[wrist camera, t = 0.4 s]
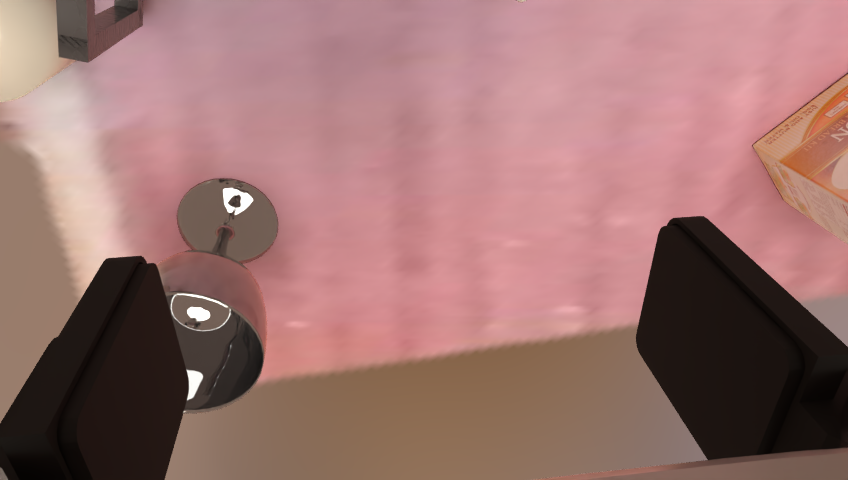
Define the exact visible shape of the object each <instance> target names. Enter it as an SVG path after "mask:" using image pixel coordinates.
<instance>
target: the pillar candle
mask: <svg viewBox="0 0 848 480" xmlns="http://www.w3.org/2000/svg"><path fill="white" fill-rule="evenodd" d="M75 61H76V60H72V59H66V58H61V57H59V53H58V33H57V13H56V0H0V102H6V101H11V100H15V99H18V98H20V97H23V96H24V95H26V94H28V93H29V92H31V91H32V90H34V89H35V88H37V87H38V86H40V85H41V84H43V83H44V82H46V81H47V80H48V79H50V78H51V77H53V76H54V75H56V74H57V73H59V72H60V71H62V70H63V69H65V68H66V67H68V66H69V65H71V64H72V63H74V62H75Z"/></svg>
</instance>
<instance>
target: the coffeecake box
mask: <svg viewBox="0 0 848 480" xmlns="http://www.w3.org/2000/svg"><path fill="white" fill-rule="evenodd" d="M753 147H754V149H755V151H756V152H757V154H758V156H759V157H760V159H761V161H762V162H763V164H764V165H765V167H766V169H767V171H768V173H769V175H770V176H771V178H772V180H773V182H774V184H775V185H776V187H777V189H778V191H779V192H780V194H781V196H782V198H783V199H784V201H785V202H787V203H788V204H789V205H791V206H792V207H793V208H795V209H796V210H798V211H799V212H801V213H802V214H804V215H805V216H807V217H808V218H810V219H811V220H813V221H814V222H815V223H817V224H818V225H820V226H821V227H823V228H824V229H826V230H827V231H829V232H830V233H832V234H833V235H835V236H836V237H838V238H839V239H840V240H842V241H843V242H845V243H846V244H848V74H847V75H846V76H844V77H843V78H842V79H840V80H839V81H838V82H836V83H835V84H834V85H832V86H831V87H830V88H828V89H827V90H826V91H824V92H823V93H822V94H820V95H819V96H818V97H816V98H815V99H814V100H812V101H811V102H810V103H808V104H807V105H806V106H804V107H803V108H802V109H800V110H799V111H798V112H796V113H795V114H794V115H792V116H791V117H790V118H788V119H787V120H786V121H784V122H783V123H782V124H780V125H779V126H778V127H776V128H775V129H774V130H772V131H771V132H770V133H768V134H767V135H765V136H764V137H763V138H761V139H760V140H759V141H757V142H756V143H755V144H753Z"/></svg>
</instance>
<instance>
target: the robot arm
mask: <svg viewBox="0 0 848 480" xmlns="http://www.w3.org/2000/svg"><path fill="white" fill-rule="evenodd" d="M636 343H637V348H638V351H639V353H640V355H641V356H642V358H643V360H644V361H645V363H646V364H647V366H648V367H649V369H650V370H651V372H652V374H653V375H654V377H655V378H656V380H657V381H658V383H659V384H660V386H661V388H662V389H663V391H664V392H665V394H666V395H667V397H668V398H669V400H670V402H671V403H672V405H673V406H674V408H675V409H676V411H677V413H678V414H679V416H680V417H681V419H682V420H683V422H684V423H685V425H686V426H687V428H688V429H689V431H690V433H691V434H692V435H693V437H694V439H695V441H696V442H697V444H698V445H699V447H700V448H701V450H702V451H703V453H704V455H705V456H706V458H707V459H708V460H705V461H696V462H686V463H678V464H669V465H659V466H651V467H641V468H632V469H622V470H614V471H605V472H595V473H586V474H578V475H568V476H559V477H551V478H542V479H533V480H848V347H847V346H846V345H845V344H844V343H843V342H842V341H841V340H840V339H838V338H837V337H836V336H835V335H834V334H833V333H832V332H831V331H830V330H829V329H827V328H826V327H825V326H824V325H823V324H822V323H821V322H820V321H818V319H817V318H815V317H814V316H813V315H812V314H811V313H810V312H809V311H808V310H807V309H806V308H804V307H803V306H802V305H801V304H800V303H799V302H798V301H797V300H796V299H795V298H794V297H792V296H791V295H790V294H789V293H788V292H787V291H786V290H785V289H784V288H783V287H781V286H780V285H779V284H778V283H777V282H776V281H775V280H774V279H773V278H772V277H771V276H769V275H768V274H767V273H766V272H765V271H764V270H763V269H762V268H761V267H760V266H759V265H757V264H756V263H755V262H754V261H753V260H752V259H751V258H750V257H749V256H748V255H746V254H745V253H744V252H743V251H742V250H741V249H740V248H739V247H738V246H737V245H736V244H734V243H733V242H732V241H731V240H730V239H729V238H728V237H727V236H726V235H725V234H723V233H722V232H721V231H720V230H719V229H718V228H717V227H716V226H715V225H714V224H713V223H711V222H710V221H709V220H708V219H707V218H705V217H704V216H696V217H682V218H673V219H671V220H670V221H669V223H668V224H667V226H663V227H662V228H661V229H660V231H659V234H658V238H657V243H656V247H655V252H654V257H653V261H652V266H651V270H650V275H649V279H648V284H647V288H646V293H645V297H644V302H643V306H642V311H641V316H640V320H639V325H638V329H637V334H636ZM188 394H189V378H188V373H187V370H186V366H185V363H184V359H183V356H182V352H181V348H180V345H179V341H178V338H177V334H176V330H175V327H174V323H173V320H172V316H171V313H170V309H169V305H168V302H167V298H166V295H165V291H164V288H163V284H162V280H161V277H160V273H159V270H158V267H157V266H156V264H154V263H148V264H147V262H146V260H145V259H144V257H142V256H132V257H118V258H108V259H106V260H105V261H104V262H103V263H102V265H101V267H100V268H99V270H98V272H97V273H96V275H95V277H94V278H93V280H92V282H91V283H90V285H89V287H88V288H87V290H86V292H85V293H84V295H83V297H82V298H81V300H80V301H79V303H78V305H77V307H76V308H75V310H74V311H73V313H72V315H71V316H70V318H69V320H68V321H67V323H66V325H65V326H64V328H63V330H62V331H61V333H60V335H59V336H58V337H56V338H54V339H53V340H52V341H51V343H50V344H49V345H48V347H47V348H46V350H45V352H44V353H43V355H42V356H41V358H40V360H39V362H38V363H37V365H36V366H35V368H34V369H33V371H32V373H31V374H30V376H29V378H28V379H27V381H26V382H25V384H24V386H23V387H22V389H21V391H20V392H19V394H18V395H17V397H16V399H15V400H14V402H13V404H12V405H11V407H10V409H9V410H8V412H7V413H6V415H5V417H4V418H3V420H2V421H1V423H0V480H164V479H165V476H166V472H167V469H168V465H169V462H170V458H171V454H172V451H173V448H174V444H175V441H176V437H177V434H178V430H179V426H180V423H181V419H182V416H183V413H184V409H185V405H186V402H187V398H188Z"/></svg>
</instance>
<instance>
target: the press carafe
mask: <svg viewBox="0 0 848 480" xmlns="http://www.w3.org/2000/svg"><path fill="white" fill-rule="evenodd" d="M56 13H57V33H58V53H59V57H61V58H66V59H72V60H77V61H83V62H90V61H91V60H93V59H94V58H96V57H97V56H98V55H100V54H101V53H103V52H104V51H106V50H107V49H109V48H110V47H112V46H113V45H115V44H116V43H117V42H119V41H120V40H122V39H123V38H125V37H126V36H128V35H129V34H131V33H132V32H134V31H135V30H137V29H138V28H139V27H141V26H142V25H143V0H115V5H114V6H112V7H110V8H108V9H106V10H105V11H103V12H101V13H99V14H97V15H95V2H94V0H56Z"/></svg>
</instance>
